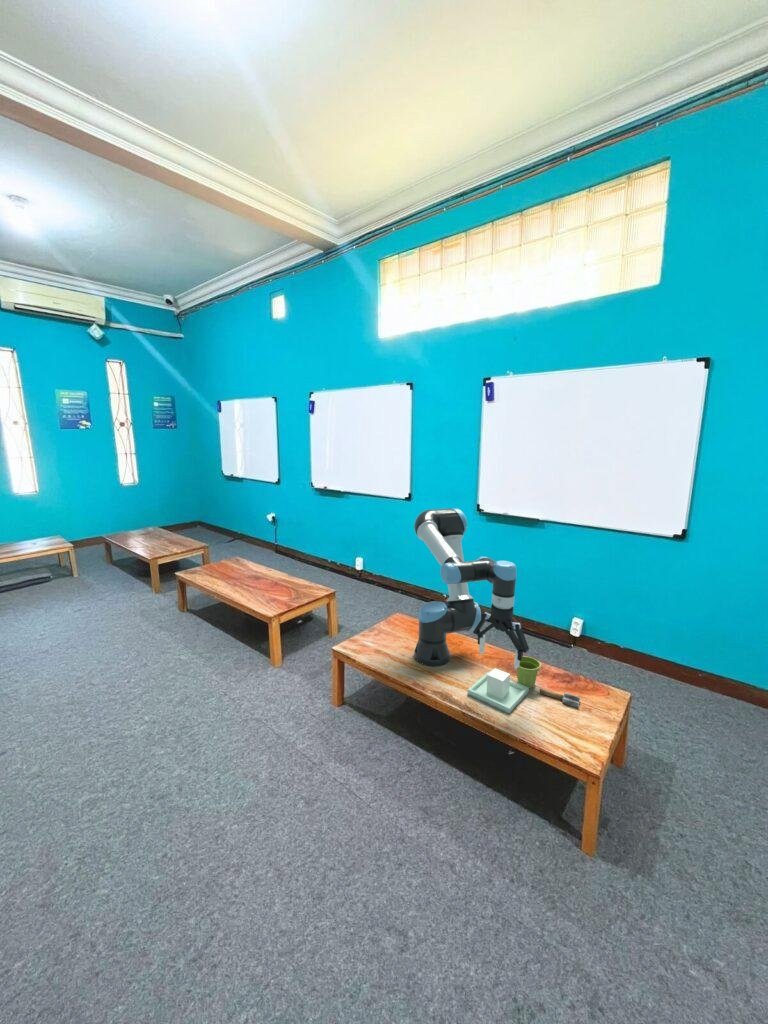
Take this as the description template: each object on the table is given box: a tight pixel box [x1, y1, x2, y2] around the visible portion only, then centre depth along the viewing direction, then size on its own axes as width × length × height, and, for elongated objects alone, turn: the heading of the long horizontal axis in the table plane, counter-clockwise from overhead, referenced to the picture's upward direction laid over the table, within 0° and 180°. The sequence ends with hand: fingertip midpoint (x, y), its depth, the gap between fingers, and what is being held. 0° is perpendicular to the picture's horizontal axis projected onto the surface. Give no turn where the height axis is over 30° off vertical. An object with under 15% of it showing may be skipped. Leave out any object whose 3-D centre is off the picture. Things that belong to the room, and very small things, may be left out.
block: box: [487, 667, 511, 699], centre depth 145 cm, size 6×6×7 cm
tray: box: [467, 671, 530, 715], centre depth 146 cm, size 16×16×2 cm
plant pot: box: [513, 655, 542, 689], centre depth 151 cm, size 9×9×9 cm
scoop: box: [538, 688, 580, 709], centre depth 143 cm, size 13×4×2 cm, turn 58°
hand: (498, 660), depth 144 cm, fingers open, 13 cm apart
